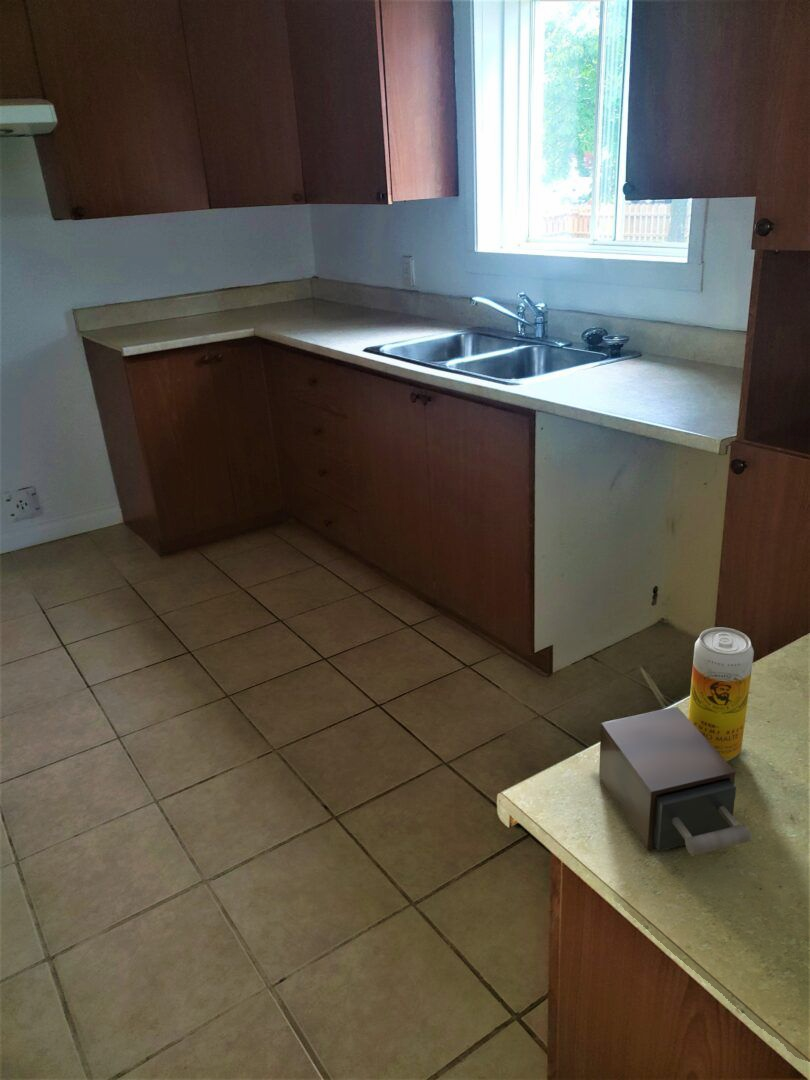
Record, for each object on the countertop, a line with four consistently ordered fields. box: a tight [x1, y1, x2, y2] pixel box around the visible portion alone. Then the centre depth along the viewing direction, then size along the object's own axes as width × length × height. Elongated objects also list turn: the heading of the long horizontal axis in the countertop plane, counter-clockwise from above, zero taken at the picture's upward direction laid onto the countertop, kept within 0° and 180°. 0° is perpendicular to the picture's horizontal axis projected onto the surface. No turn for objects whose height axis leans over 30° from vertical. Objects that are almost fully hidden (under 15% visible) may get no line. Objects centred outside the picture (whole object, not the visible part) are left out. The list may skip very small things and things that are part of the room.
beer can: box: [687, 626, 755, 762], centre depth 92 cm, size 6×6×15 cm
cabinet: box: [598, 706, 737, 850], centre depth 87 cm, size 11×9×8 cm
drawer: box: [653, 780, 752, 856], centre depth 84 cm, size 15×8×6 cm, turn 13°
